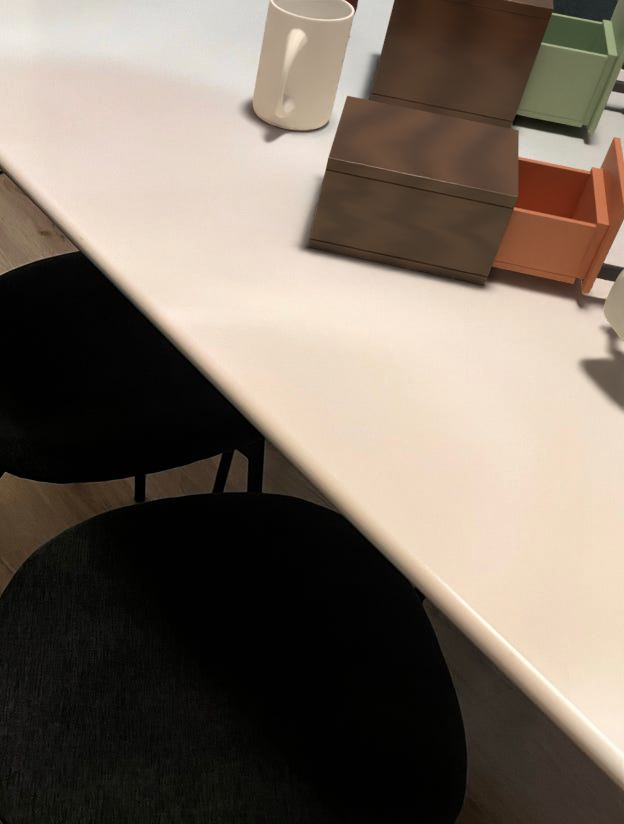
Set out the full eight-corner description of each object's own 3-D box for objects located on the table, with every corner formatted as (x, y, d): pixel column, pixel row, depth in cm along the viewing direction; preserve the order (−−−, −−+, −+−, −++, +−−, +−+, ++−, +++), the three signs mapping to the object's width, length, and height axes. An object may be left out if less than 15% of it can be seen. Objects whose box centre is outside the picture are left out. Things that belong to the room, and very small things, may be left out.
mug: (231, 131, 106) (249, 17, 98) (264, 91, 113) (283, -18, 105) (310, 152, 104) (335, 38, 96) (338, 110, 112) (363, 1, 104)
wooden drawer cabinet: (511, 83, 122) (551, -31, 113) (510, 129, 113) (553, 8, 104) (380, 57, 124) (409, -58, 115) (369, 100, 115) (399, -21, 106)
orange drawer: (650, 237, 97) (700, 136, 90) (663, 310, 88) (720, 204, 81) (422, 189, 99) (454, 87, 92) (412, 256, 90) (447, 148, 83)
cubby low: (488, 214, 99) (519, 130, 93) (484, 285, 90) (518, 197, 84) (327, 180, 101) (347, 95, 95) (307, 247, 92) (328, 157, 86)
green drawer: (642, 99, 120) (691, -10, 112) (652, 146, 111) (706, 31, 103) (458, 63, 122) (492, -48, 113) (453, 106, 113) (489, -10, 105)
